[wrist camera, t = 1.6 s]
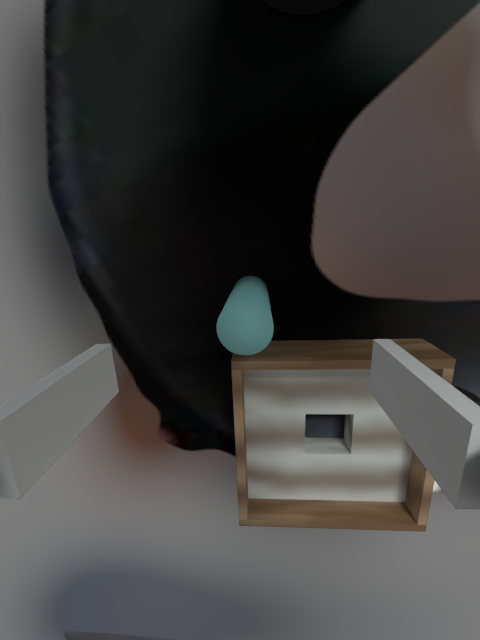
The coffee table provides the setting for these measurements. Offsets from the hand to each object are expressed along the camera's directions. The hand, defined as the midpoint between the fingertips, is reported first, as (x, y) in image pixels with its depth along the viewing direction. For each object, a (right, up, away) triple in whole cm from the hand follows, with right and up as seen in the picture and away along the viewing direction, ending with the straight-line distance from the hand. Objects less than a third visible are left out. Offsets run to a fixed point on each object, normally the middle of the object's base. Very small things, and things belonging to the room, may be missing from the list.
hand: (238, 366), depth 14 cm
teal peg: (+1, +6, +19) cm, 20 cm away
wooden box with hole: (+11, -11, +23) cm, 28 cm away
